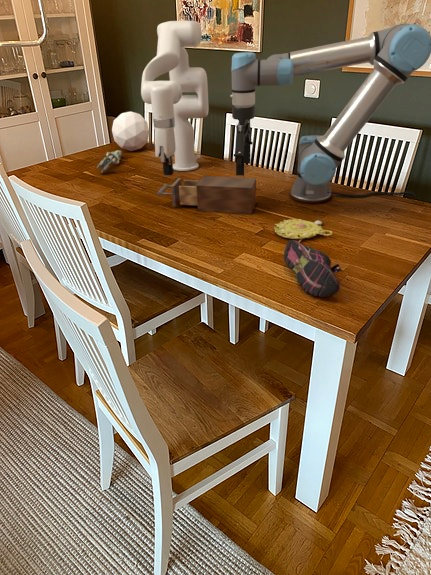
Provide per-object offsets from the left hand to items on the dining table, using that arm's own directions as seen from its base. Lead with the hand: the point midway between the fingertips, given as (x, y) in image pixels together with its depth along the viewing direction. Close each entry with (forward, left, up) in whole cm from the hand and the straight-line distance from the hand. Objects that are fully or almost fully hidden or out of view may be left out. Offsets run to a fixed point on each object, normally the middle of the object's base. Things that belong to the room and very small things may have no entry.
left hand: (168, 174), depth 165 cm
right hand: (-11, +26, +3) cm, 28 cm away
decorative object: (-4, +54, -12) cm, 55 cm away
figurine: (-22, -57, -12) cm, 62 cm away
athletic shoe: (+21, +70, -12) cm, 74 cm away
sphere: (-47, -68, -12) cm, 84 cm away
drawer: (-3, +8, -11) cm, 14 cm away
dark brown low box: (-9, +20, -12) cm, 25 cm away
